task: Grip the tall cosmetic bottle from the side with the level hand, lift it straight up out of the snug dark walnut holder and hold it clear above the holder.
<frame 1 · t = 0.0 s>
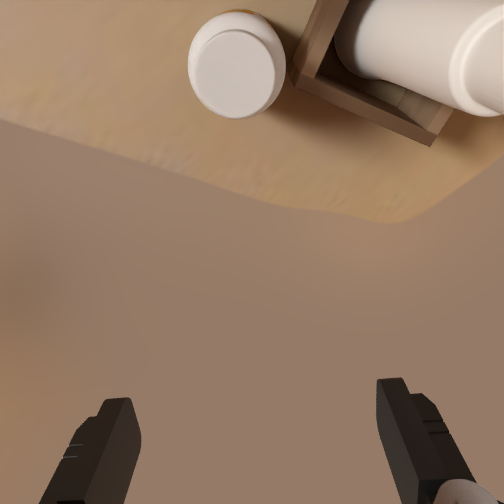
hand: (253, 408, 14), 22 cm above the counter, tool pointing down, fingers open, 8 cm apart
supplement bottle: (239, 53, 29), on the counter
cosmetic bottle: (378, 30, 28), resting in holder
holder: (379, 30, 28), on the counter
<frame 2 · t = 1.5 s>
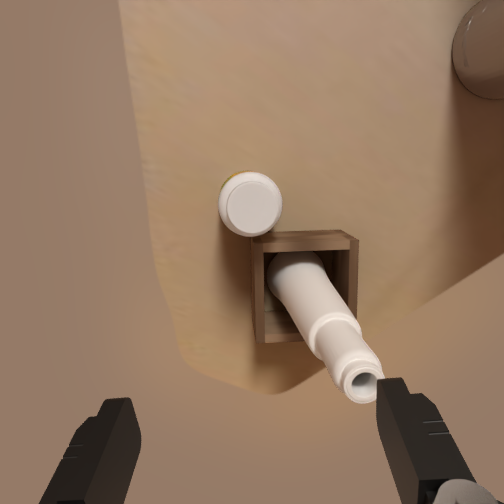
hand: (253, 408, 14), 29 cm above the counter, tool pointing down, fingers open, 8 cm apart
supplement bottle: (246, 198, 41), on the counter
cosmetic bottle: (295, 274, 43), resting in holder
holder: (295, 275, 43), on the counter
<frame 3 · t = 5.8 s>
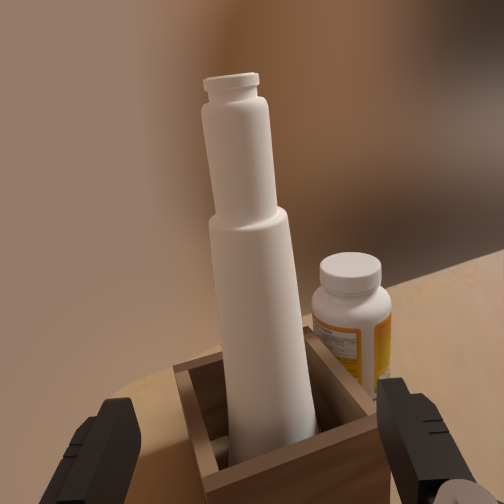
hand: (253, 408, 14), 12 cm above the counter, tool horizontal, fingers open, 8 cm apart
supplement bottle: (352, 381, 32), on the counter
cosmetic bottle: (278, 470, 25), resting in holder
holder: (277, 468, 25), on the counter
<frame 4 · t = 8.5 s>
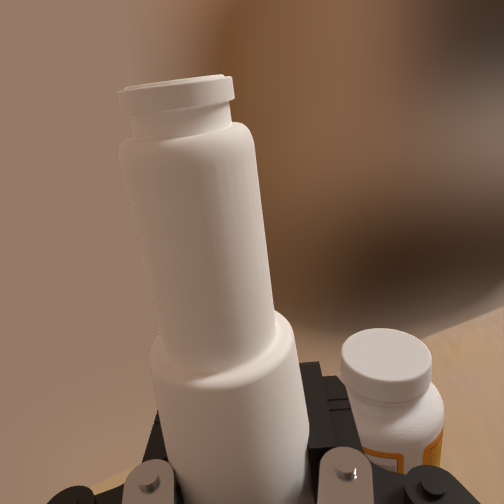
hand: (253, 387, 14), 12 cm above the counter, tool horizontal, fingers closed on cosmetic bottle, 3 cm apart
supplement bottle: (382, 498, 23), on the counter
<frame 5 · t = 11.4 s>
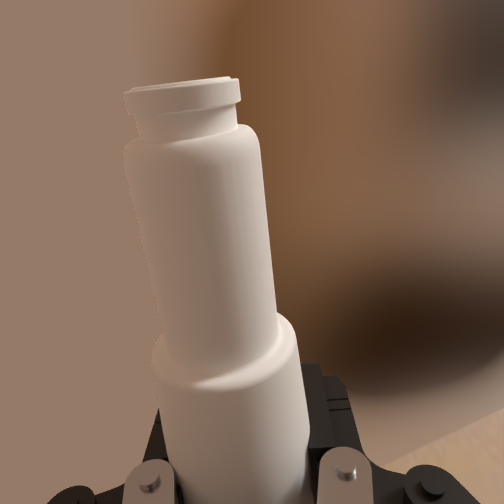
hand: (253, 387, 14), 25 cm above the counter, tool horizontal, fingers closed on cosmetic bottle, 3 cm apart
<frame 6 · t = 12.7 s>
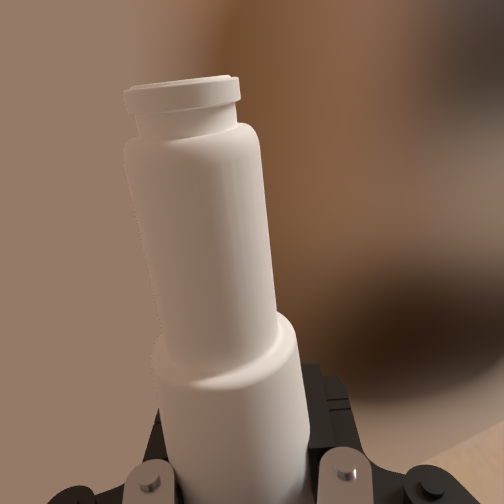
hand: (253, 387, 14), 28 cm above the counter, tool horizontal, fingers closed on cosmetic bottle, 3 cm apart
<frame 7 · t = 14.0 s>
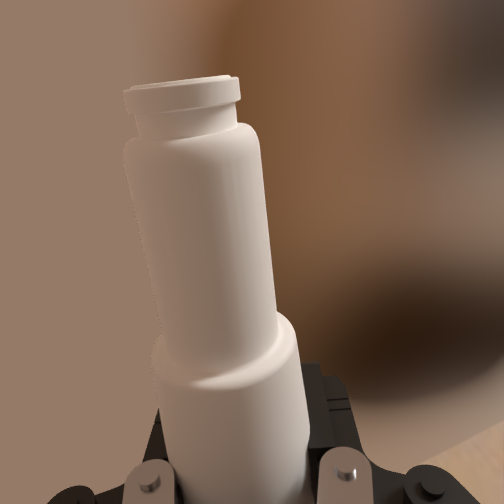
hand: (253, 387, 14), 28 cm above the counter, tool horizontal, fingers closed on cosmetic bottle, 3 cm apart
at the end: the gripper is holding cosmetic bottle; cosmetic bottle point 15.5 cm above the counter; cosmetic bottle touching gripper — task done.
